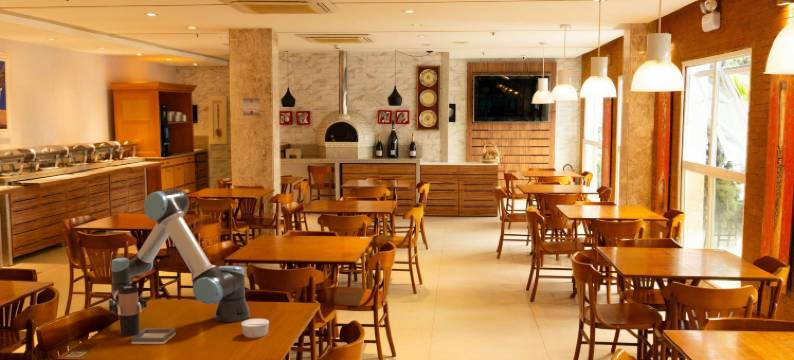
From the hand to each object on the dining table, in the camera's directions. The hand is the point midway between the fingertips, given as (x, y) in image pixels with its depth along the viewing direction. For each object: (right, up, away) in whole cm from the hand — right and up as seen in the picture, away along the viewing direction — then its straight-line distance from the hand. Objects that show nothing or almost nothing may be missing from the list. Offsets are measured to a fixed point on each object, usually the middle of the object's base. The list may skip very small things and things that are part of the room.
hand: (130, 310), depth 297 cm
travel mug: (-2, -11, +5) cm, 12 cm away
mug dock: (+11, -11, -3) cm, 16 cm away
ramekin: (+51, -10, +1) cm, 52 cm away
